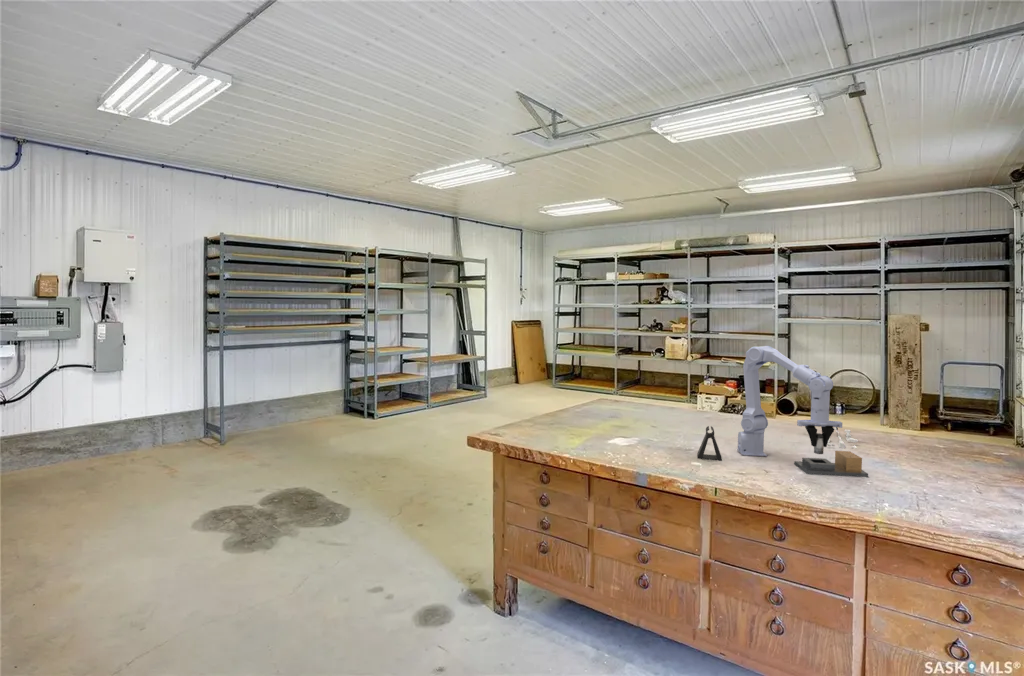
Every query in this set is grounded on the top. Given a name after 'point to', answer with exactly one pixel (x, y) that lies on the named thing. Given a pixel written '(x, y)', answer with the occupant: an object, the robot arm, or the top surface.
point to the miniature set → (841, 443)
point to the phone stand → (703, 446)
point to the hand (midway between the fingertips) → (818, 446)
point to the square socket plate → (834, 465)
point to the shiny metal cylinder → (819, 444)
